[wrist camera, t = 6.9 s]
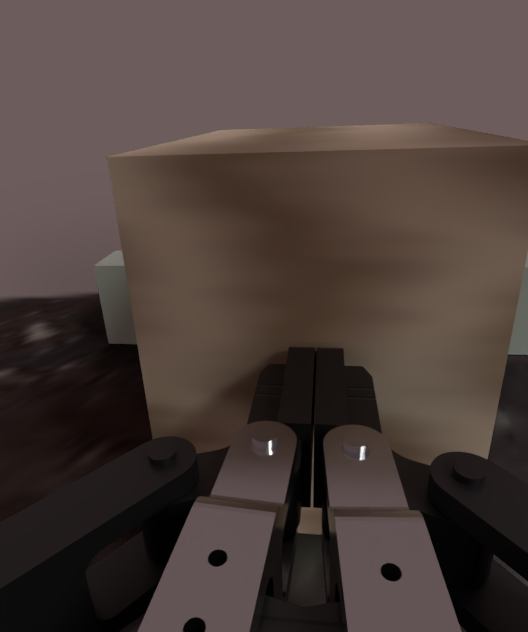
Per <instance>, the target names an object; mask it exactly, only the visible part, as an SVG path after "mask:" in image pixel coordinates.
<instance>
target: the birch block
mask: <svg viewBox="0 0 528 632" xmlns="http://www.w3.org/2000/svg"><path fill="white" fill-rule="evenodd" d="M107 161H108V167H109V174H110V180H111V186H112V192H113V198H114V204H115V210H116V217H117V223H118V229H119V235H120V241H121V247H122V254H123V260H124V266H125V272H126V278H127V284H128V291H129V297H130V303H131V309H132V315H133V321H134V327H135V334H136V340H137V346H138V352H139V358H140V364H141V371H142V377H143V383H144V389H145V395H146V401H147V407H148V414H149V420H150V426H151V432H152V438H153V439H155V438H160V437H166V436H174V437H180V438H184V439H186V440H188V441H190V442H191V443H192V444H193V445H194V447H195V449H196V453H197V454H198V453H204V452H209V451H215V450H219V449H222V448H225V447H227V446H230V445H231V443H232V440H233V438H234V436H235V434H236V433H237V431H238V430H239V429H241V428H242V427H244V426H245V425H247V422H248V418H249V414H250V410H251V406H252V402H253V398H254V395H255V390H256V386H257V382H258V378H259V374H260V372H261V371H262V370H263V369H264V368H266V367H267V366H268V365H269V364H286V362H287V356H288V350H289V347H315V389H316V363H317V347H320V348H343V350H344V364H345V366H363V367H364V368H365V369H366V370H367V371H368V372H369V373H370V375H371V376H372V378H373V384H374V390H375V395H376V401H377V407H378V413H379V419H380V425H381V430H382V435H383V436H384V437H385V438H386V439H387V440H388V442H389V445H390V448H391V449H392V450H393V451H394V452H396V453H397V454H399V455H401V456H403V457H405V458H407V459H410V460H413V461H416V462H420V463H423V464H427V465H431V463H432V461H433V460H434V459H435V458H436V457H437V456H439V455H441V454H443V453H447V452H467V453H472V454H475V455H478V456H481V457H483V458H485V459H488V454H489V449H490V444H491V439H492V434H493V428H494V423H495V418H496V413H497V408H498V403H499V397H500V392H501V387H502V382H503V377H504V372H505V366H506V361H507V356H508V351H509V346H510V341H511V335H512V330H513V325H514V320H515V315H516V310H517V304H518V299H519V294H520V289H521V284H522V279H523V273H524V268H525V263H526V258H527V253H528V141H525V140H520V139H515V138H509V137H504V136H499V135H493V134H488V133H482V132H477V131H471V130H466V129H461V128H456V127H450V126H445V125H439V124H434V123H422V124H421V123H419V124H390V125H363V126H362V125H360V126H332V127H303V128H274V129H273V128H272V129H243V130H219V131H215V132H211V133H206V134H202V135H198V136H194V137H189V138H185V139H181V140H177V141H172V142H168V143H164V144H160V145H155V146H151V147H147V148H143V149H139V150H134V151H130V152H126V153H121V154H117V155H113V156H109V157H107ZM314 414H315V400H314ZM313 488H314V432H313V457H312V482H311V507H310V508H309V507H301V519H300V523H299V526H298V533H305V534H317V535H321V531H322V508H313Z"/></svg>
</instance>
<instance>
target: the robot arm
mask: <svg viewBox="0 0 528 632" xmlns="http://www.w3.org/2000/svg"><path fill="white" fill-rule="evenodd" d="M314 400H315V414H314ZM313 432H314V488H313V508H322V531H321V542H322V555H323V567H324V580H325V593H326V604H322V605H316V606H310V607H300V606H296V605H293V604H290V603H287V600H288V594H289V588H290V582H291V576H292V569H293V563H294V557H295V551H296V544H297V538H298V526H299V523H300V519H301V507H309V508H310V507H311V482H312V457H313ZM139 524H141V529H142V531H141V532H140V533H138V534H137V535H135V536H134V537H132V538H131V539H129V540H128V541H126V542H125V543H123V544H122V545H121V546H119V547H118V548H116V549H115V550H113V551H112V552H110V553H109V554H107V555H106V556H104V557H103V558H101V559H100V560H99V561H97V562H96V563H94V564H93V565H91V566H90V567H88V568H87V566H88V564H89V562H90V561H91V559H92V558H93V557H94V556H95V555H96V554H97V553H98V552H99V551H100V550H102V549H103V548H105V547H106V546H108V545H109V544H111V543H112V542H114V541H115V540H117V539H118V538H120V537H121V536H123V535H124V534H126V533H127V532H129V531H130V530H132V529H133V528H135V527H136V526H138V525H139ZM494 554H495V555H496V556H497V557H498V558H500V559H501V560H502V561H503V562H505V563H506V564H507V565H508V566H510V567H511V568H512V569H513V570H515V571H516V572H517V573H518V574H520V575H521V576H522V577H523V578H525V579H526V580H527V581H528V485H527V484H526V483H524V482H522V481H521V480H519V479H518V478H516V477H515V476H513V475H511V474H510V473H508V472H507V471H505V470H503V469H502V468H500V467H499V466H497V465H496V464H494V463H492V462H491V461H489V460H487V459H485V458H483V457H481V456H478V455H475V454H472V453H467V452H447V453H443V454H441V455H439V456H437V457H436V458H435V459H434V460H433V461H432V463H431V465H427V464H423V463H420V462H416V461H413V460H410V459H407V458H405V457H403V456H401V455H399V454H397V453H396V452H394V451H393V450H392V449H391V448H390V445H389V442H388V440H387V439H386V438H385V437H384V436H383V435H382V430H381V425H380V419H379V413H378V407H377V401H376V395H375V390H374V384H373V378H372V376H371V375H370V373H369V372H368V371H367V370H366V369H365V368H364V367H363V366H345V364H344V350H343V348H320V347H317V363H316V389H315V347H289V350H288V356H287V362H286V364H269V365H268V366H267V367H266V368H264V369H263V370H262V371H261V372H260V374H259V378H258V382H257V386H256V390H255V395H254V398H253V402H252V406H251V410H250V414H249V418H248V422H247V425H245V426H244V427H242V428H241V429H239V430H238V431H237V433H236V434H235V436H234V438H233V440H232V443H231V445H230V446H227V447H225V448H222V449H219V450H215V451H209V452H204V453H198V454H197V453H196V449H195V447H194V445H193V444H192V443H191V442H190V441H188V440H186V439H184V438H180V437H174V436H166V437H160V438H155V439H153V440H150V441H148V442H146V443H144V444H142V445H140V446H138V447H136V448H134V449H133V450H131V451H129V452H127V453H125V454H124V455H122V456H120V457H118V458H116V459H114V460H113V461H111V462H109V463H107V464H105V465H103V466H102V467H100V468H98V469H96V470H94V471H92V472H91V473H89V474H87V475H85V476H83V477H82V478H80V479H78V480H76V481H74V482H72V483H71V484H69V485H67V486H65V487H63V488H61V489H60V490H58V491H56V492H54V493H52V494H50V495H49V496H47V497H45V498H43V499H41V500H40V501H38V502H36V503H34V504H32V505H30V506H29V507H27V508H25V509H23V510H21V511H19V512H18V513H16V514H14V515H12V516H10V517H8V518H7V519H5V520H3V521H1V522H0V632H461V629H460V626H459V624H460V625H461V626H462V627H463V628H464V629H465V630H466V631H467V632H528V587H527V586H526V585H525V584H523V583H522V582H521V581H520V580H518V579H517V578H516V577H515V576H513V575H512V574H511V573H510V572H508V571H507V570H506V569H505V568H504V567H502V566H501V565H500V564H499V563H497V562H496V561H495V560H494V559H493V555H494ZM145 612H146V614H145V615H144V616H142V615H143V614H144V613H145ZM140 616H142V617H140ZM139 617H140V618H139Z"/></svg>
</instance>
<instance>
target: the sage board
mask: <svg viewBox="0 0 528 632" xmlns="http://www.w3.org/2000/svg"><path fill="white" fill-rule="evenodd" d="M94 269H95V274H96V279H97V285H98V290H99V296H100V301H101V306H102V311H103V317H104V322H105V327H106V333H107V338H108V343H109V344H137V340H136V334H135V327H134V321H133V315H132V309H131V303H130V297H129V291H128V284H127V278H126V272H125V266H124V260H123V254H122V251H115V252H113V253H112V254H110V255H109V256H107V257H106V258H104V259H103V260H101V261H100V262H99V263H97V264H96V265H94ZM508 354H511V355H528V253H527V258H526V263H525V268H524V273H523V279H522V284H521V289H520V294H519V299H518V304H517V310H516V315H515V320H514V325H513V330H512V335H511V341H510V346H509V351H508Z"/></svg>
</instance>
